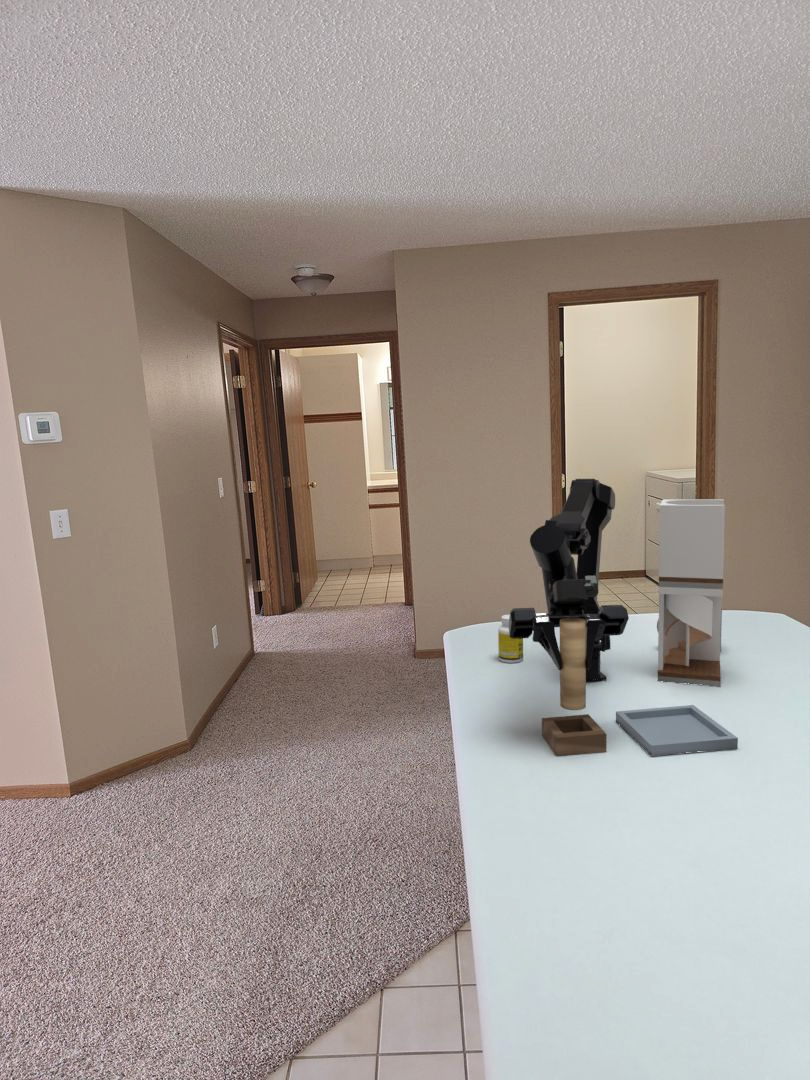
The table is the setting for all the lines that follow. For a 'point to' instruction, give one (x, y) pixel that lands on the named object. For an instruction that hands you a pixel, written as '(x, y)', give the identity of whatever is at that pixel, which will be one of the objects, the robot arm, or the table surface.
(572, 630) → the oak dowel
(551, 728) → the walnut holder
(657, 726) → the plastic tray
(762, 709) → the table surface
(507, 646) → the supplement bottle
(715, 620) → the spiral staircase model
